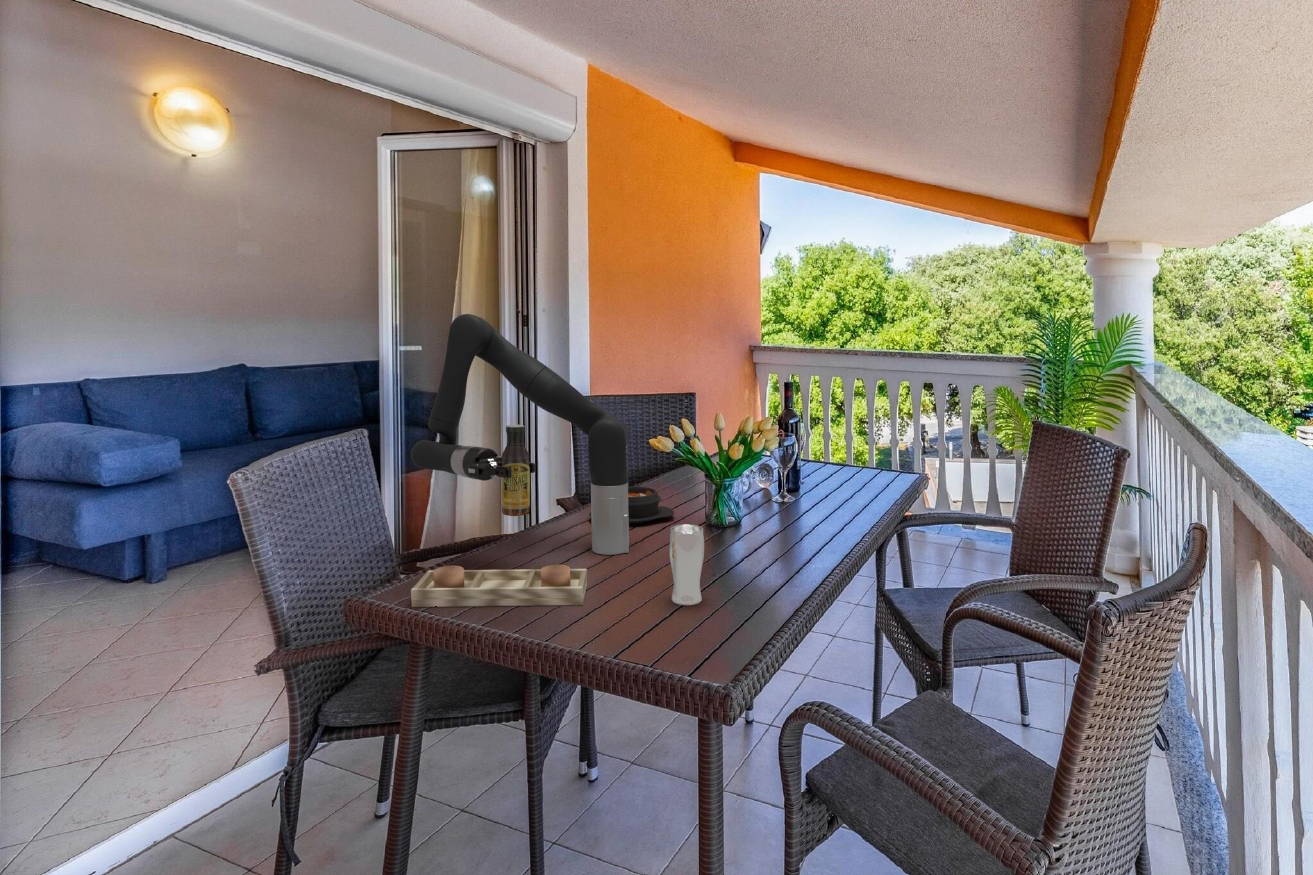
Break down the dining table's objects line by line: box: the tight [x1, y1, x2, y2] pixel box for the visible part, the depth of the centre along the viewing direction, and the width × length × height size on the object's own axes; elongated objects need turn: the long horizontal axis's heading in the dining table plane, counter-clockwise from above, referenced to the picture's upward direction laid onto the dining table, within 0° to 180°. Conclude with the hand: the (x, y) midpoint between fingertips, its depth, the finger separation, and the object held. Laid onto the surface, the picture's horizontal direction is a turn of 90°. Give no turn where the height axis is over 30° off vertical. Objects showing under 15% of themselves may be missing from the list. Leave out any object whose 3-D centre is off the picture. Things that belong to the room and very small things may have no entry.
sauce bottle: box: [500, 424, 531, 517], centre depth 160 cm, size 6×6×20 cm
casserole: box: [588, 486, 675, 525], centre depth 211 cm, size 25×19×8 cm
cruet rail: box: [410, 564, 588, 608], centre depth 151 cm, size 34×12×6 cm, turn 91°
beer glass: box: [669, 524, 705, 606], centre depth 147 cm, size 7×7×15 cm
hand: (522, 470), depth 159 cm, fingers closed on sauce bottle, 6 cm apart
